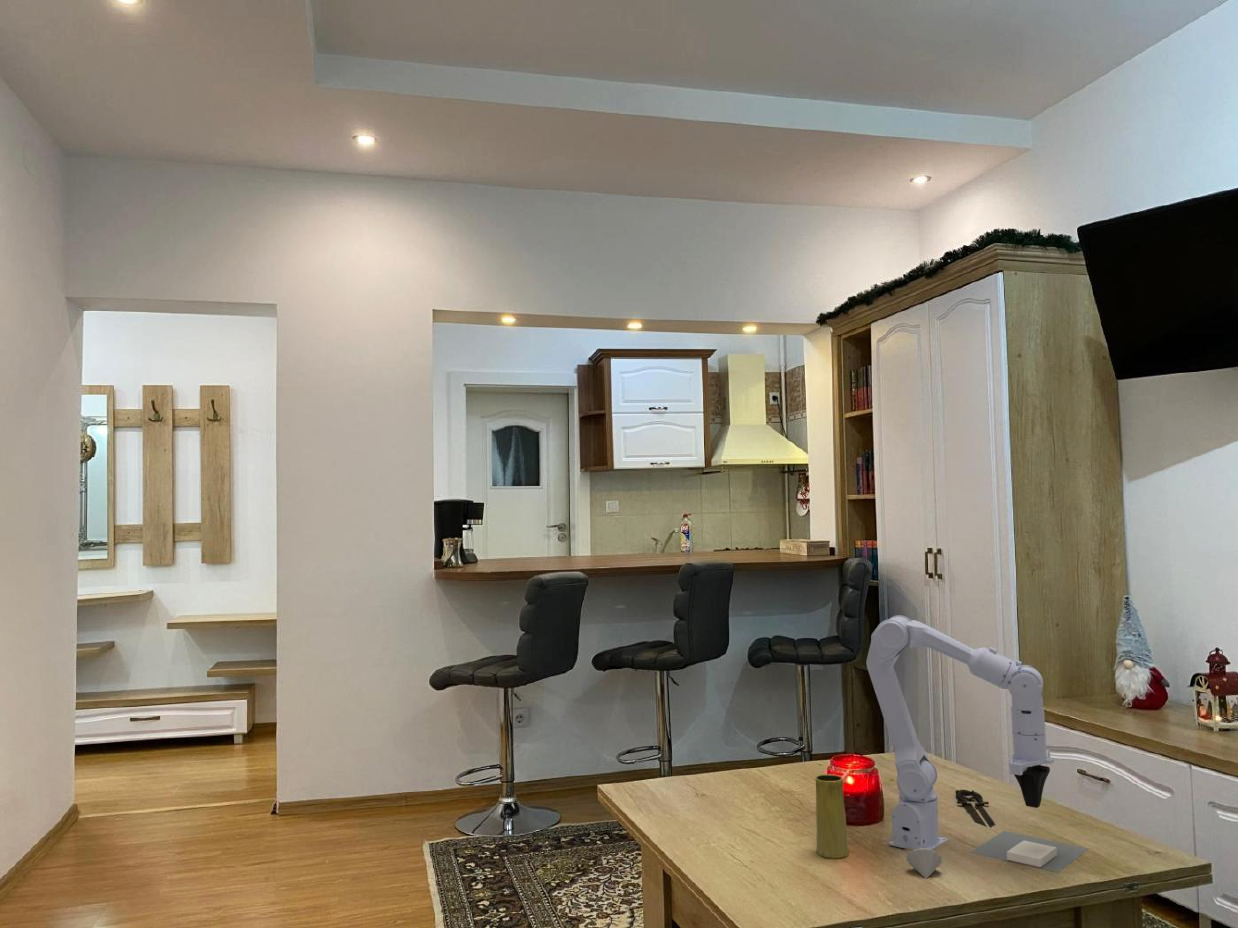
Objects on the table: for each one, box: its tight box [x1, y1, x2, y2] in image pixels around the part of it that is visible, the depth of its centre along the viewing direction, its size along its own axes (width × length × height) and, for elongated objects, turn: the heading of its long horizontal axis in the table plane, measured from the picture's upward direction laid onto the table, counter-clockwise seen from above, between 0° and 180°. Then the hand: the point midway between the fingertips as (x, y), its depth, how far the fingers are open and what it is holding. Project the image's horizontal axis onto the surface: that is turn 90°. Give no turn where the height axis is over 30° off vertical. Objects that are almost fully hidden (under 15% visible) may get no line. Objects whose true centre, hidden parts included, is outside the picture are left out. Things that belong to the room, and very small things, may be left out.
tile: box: [1007, 840, 1057, 869], centre depth 169 cm, size 2×6×8 cm
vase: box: [815, 773, 850, 859], centre depth 176 cm, size 6×6×14 cm
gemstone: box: [906, 848, 943, 880], centre depth 164 cm, size 6×6×5 cm
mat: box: [969, 830, 1089, 874], centre depth 173 cm, size 16×16×1 cm
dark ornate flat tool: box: [955, 789, 997, 829], centre depth 199 cm, size 26×7×1 cm, turn 165°
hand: (1032, 806), depth 171 cm, fingers closed
